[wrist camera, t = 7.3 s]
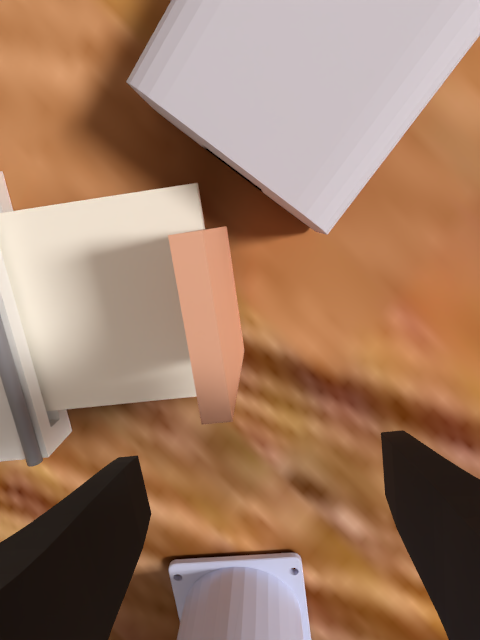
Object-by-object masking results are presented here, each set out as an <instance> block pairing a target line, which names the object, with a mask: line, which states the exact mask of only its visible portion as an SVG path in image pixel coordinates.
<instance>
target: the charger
mask: <svg viewBox="0 0 480 640" xmlns="http://www.w3.org/2000/svg"><path fill="white" fill-rule="evenodd" d="M479 36H480V0H171V2H170V4H169V6H168V7H167V9H166V11H165V13H164V15H163V16H162V18H161V20H160V22H159V24H158V25H157V27H156V29H155V31H154V33H153V34H152V36H151V38H150V40H149V42H148V43H147V45H146V47H145V49H144V51H143V53H142V54H141V56H140V58H139V60H138V62H137V63H136V65H135V67H134V69H133V71H132V72H131V74H130V76H129V78H128V80H127V81H126V82H127V83H128V84H129V85H130V86H131V87H132V88H133V89H134V90H135V91H136V92H137V93H138V94H139V95H140V96H141V97H142V98H143V99H144V100H145V101H146V102H147V103H148V104H149V105H150V106H151V107H152V108H153V109H154V110H155V111H157V112H158V113H159V114H160V115H162V116H163V117H164V118H165V119H167V120H168V121H169V122H171V123H172V124H173V125H175V126H176V127H177V128H178V129H180V130H181V131H182V132H184V133H185V134H186V135H188V136H189V137H190V138H192V139H193V140H194V141H195V142H197V143H198V144H199V145H201V146H202V147H203V148H204V146H205V147H206V148H207V149H209V150H210V151H211V152H213V153H214V154H215V155H217V156H218V157H219V158H221V159H222V160H223V161H225V162H226V163H227V164H228V165H230V166H231V167H232V168H234V169H235V170H236V171H238V172H239V173H240V174H242V175H243V176H244V177H246V178H247V179H248V180H250V181H251V182H252V183H254V184H255V185H256V186H258V187H259V188H260V189H262V192H263V193H264V194H266V195H267V196H268V197H270V198H271V199H272V200H274V201H275V202H276V203H278V204H279V205H280V206H282V207H283V208H284V209H286V210H287V211H288V212H290V213H291V214H292V215H294V216H295V217H296V218H298V219H299V220H300V221H302V222H303V223H304V224H306V225H307V226H309V227H310V228H311V229H313V230H314V231H316V232H318V233H323V234H328V233H329V232H330V230H331V229H332V228H333V226H334V225H335V224H336V223H337V221H338V220H339V219H340V217H341V216H342V215H343V213H344V212H345V211H346V209H347V208H348V207H349V206H350V204H351V203H352V202H353V200H354V199H355V198H356V196H357V195H358V194H359V192H360V191H361V190H362V189H363V187H364V186H365V185H366V183H367V182H368V181H369V179H370V178H371V177H372V175H373V174H374V173H375V172H376V170H377V169H378V168H379V166H380V165H381V164H382V162H383V161H384V160H385V158H386V157H387V156H388V155H389V153H390V152H391V151H392V149H393V148H394V147H395V145H396V144H397V143H398V141H399V140H400V139H401V138H402V136H403V135H404V134H405V132H406V131H407V130H408V128H409V127H410V126H411V124H412V123H413V122H414V121H415V119H416V118H417V117H418V115H419V114H420V113H421V111H422V110H423V109H424V107H425V106H426V105H427V104H428V102H429V101H430V100H431V98H432V97H433V96H434V94H435V93H436V92H437V90H438V89H439V88H440V87H441V85H442V84H443V83H444V81H445V80H446V79H447V77H448V76H449V75H450V73H451V72H452V71H453V70H454V68H455V67H456V66H457V64H458V63H459V62H460V60H461V59H462V58H463V56H464V55H465V54H466V53H467V51H468V50H469V49H470V47H471V46H472V45H473V43H474V42H475V41H476V39H477V38H478V37H479ZM228 167H229V166H228ZM232 170H233V169H232ZM236 173H237V172H236ZM240 176H241V175H240ZM244 179H245V178H244Z"/></svg>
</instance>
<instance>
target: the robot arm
mask: <svg viewBox="0 0 480 640" xmlns="http://www.w3.org/2000/svg"><path fill="white" fill-rule="evenodd" d="M381 440H382V454H383V469H384V483H385V495H386V498H387V501H388V504H389V507H390V510H391V513H392V516H393V519H394V522H395V524H396V527H397V530H398V532H399V534H400V536H401V538H402V540H403V543H404V545H405V547H406V549H407V551H408V553H409V555H410V557H411V559H412V561H413V563H414V565H415V567H416V570H417V572H418V574H419V576H420V578H421V580H422V582H423V584H424V586H425V588H426V590H427V592H428V594H429V596H430V598H431V600H432V602H433V605H434V607H435V609H436V611H437V613H438V615H439V617H440V620H441V622H442V624H443V626H444V629H445V631H446V633H447V636H448V639H449V640H480V479H478V478H476V477H474V476H473V475H471V474H469V473H468V472H466V471H464V470H463V469H461V468H459V467H458V466H456V465H455V464H453V463H451V462H450V461H448V460H447V459H445V458H444V457H442V456H441V455H439V454H438V453H436V452H435V451H433V450H432V449H430V448H429V447H427V446H426V445H424V444H423V443H421V442H420V441H418V440H417V439H416V438H414V437H413V436H411V435H410V434H408V433H406V432H405V431H392V432H382V433H381ZM150 516H151V510H150V506H149V502H148V497H147V493H146V489H145V485H144V480H143V476H142V472H141V467H140V463H139V459H138V456H130V457H119V458H117V459H116V460H114V461H113V462H111V463H110V464H108V465H107V466H106V467H104V468H103V469H102V470H100V471H99V472H98V473H96V474H95V475H94V476H93V477H91V478H90V479H89V480H88V481H86V482H85V483H84V484H82V485H81V486H80V487H79V488H77V489H76V490H75V491H73V492H72V493H71V494H70V495H68V496H67V497H66V498H64V499H63V500H62V501H60V502H59V503H58V504H56V505H55V506H53V507H52V508H51V509H49V510H48V511H47V512H45V513H44V514H42V515H41V516H40V517H38V518H37V519H36V520H34V521H33V522H31V523H30V524H28V525H27V526H26V527H24V528H23V529H21V530H20V531H18V532H16V533H15V534H13V535H12V536H10V537H9V538H7V539H5V540H4V541H2V542H1V543H0V640H108V638H109V635H110V632H111V629H112V627H113V624H114V621H115V619H116V616H117V614H118V611H119V609H120V606H121V603H122V601H123V598H124V596H125V593H126V591H127V588H128V585H129V583H130V580H131V578H132V575H133V572H134V570H135V567H136V565H137V562H138V559H139V557H140V554H141V551H142V548H143V545H144V541H145V538H146V534H147V530H148V525H149V521H150ZM291 568H296V569H291ZM168 571H169V575H170V580H171V584H172V589H173V593H174V598H175V602H176V607H177V611H178V616H179V620H180V626H179V631H178V636H177V640H311V635H310V626H309V618H308V610H307V602H306V594H305V585H304V577H303V569H302V561H301V557H300V556H299V555H298V554H296V553H277V554H260V555H243V556H226V557H209V558H192V559H176V560H173V561H171V563H170V565H169V570H168ZM177 574H179V575H180V576H179V575H177Z"/></svg>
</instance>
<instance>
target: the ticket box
mask: <svg viewBox="0 0 480 640" xmlns="http://www.w3.org/2000/svg"><path fill="white" fill-rule="evenodd" d="M11 211H13V208H12V205H11V201H10V197H9V193H8V190H7V186H6V182H5V179H4V175H3V172H1V171H0V213H4V212H11ZM71 432H72V428H71V425H70V421H69V417H68V413H67V410H66V409H65V410H55V411H46V408H45V405H44V401H43V398H42V394H41V391H40V387H39V384H38V380H37V377H36V373H35V370H34V366H33V362H32V359H31V355H30V352H29V348H28V345H27V341H26V338H25V334H24V331H23V327H22V323H21V320H20V316H19V313H18V309H17V306H16V302H15V299H14V295H13V292H12V288H11V284H10V281H9V277H8V274H7V270H6V267H5V263H4V260H3V256H2V253H1V249H0V461H10V460H21V459H26V462H27V465H28V466H35V465H38V464H39V463H41V462H42V461H43V458H44V457H49V456H50V455H51V454H52V453H53V452H54V451H55V449H56V448H57V447H58V446H59V445H60V444H61V443H62V442H63V441H64V440H65V439H66V437H67V436H68V435H69V434H70V433H71Z"/></svg>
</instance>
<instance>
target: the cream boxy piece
mask: <svg viewBox="0 0 480 640" xmlns="http://www.w3.org/2000/svg"><path fill="white" fill-rule="evenodd" d="M0 249H1V253H2V256H3V260H4V263H5V267H6V270H7V274H8V277H9V281H10V284H11V288H12V292H13V295H14V299H15V302H16V306H17V309H18V313H19V316H20V320H21V323H22V327H23V331H24V334H25V338H26V341H27V345H28V348H29V352H30V355H31V359H32V362H33V366H34V370H35V373H36V377H37V380H38V384H39V387H40V391H41V394H42V398H43V401H44V405H45V408H46V411H55V410H65V409H75V408H85V407H95V406H105V405H115V404H125V403H135V402H145V401H155V400H165V399H175V398H185V397H195V396H197V401H198V407H199V412H200V418H201V423H202V424H212V423H223V422H232V421H233V415H234V409H235V403H236V397H237V391H238V385H239V379H240V373H241V367H242V361H243V355H244V345H243V338H242V331H241V324H240V317H239V310H238V303H237V295H236V288H235V281H234V274H233V267H232V260H231V253H230V246H229V239H228V232H227V226H225V227H218V228H211V229H205V225H204V219H203V212H202V206H201V199H200V193H199V186H198V183H193V184H186V185H180V186H173V187H167V188H160V189H154V190H147V191H141V192H134V193H128V194H121V195H115V196H108V197H102V198H95V199H89V200H82V201H76V202H69V203H63V204H56V205H50V206H43V207H37V208H30V209H24V210H17V211H11V212H4V213H0Z"/></svg>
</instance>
